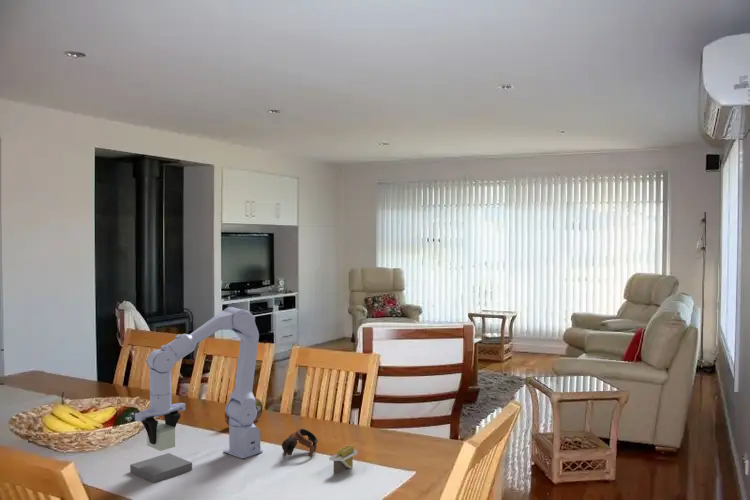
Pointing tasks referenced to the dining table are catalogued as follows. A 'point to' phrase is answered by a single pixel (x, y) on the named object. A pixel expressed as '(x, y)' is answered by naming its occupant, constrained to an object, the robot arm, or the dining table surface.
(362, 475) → the dining table surface
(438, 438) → the dining table surface
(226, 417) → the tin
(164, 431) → the block
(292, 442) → the brown curved band
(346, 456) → the platform
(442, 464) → the dining table surface
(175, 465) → the stand
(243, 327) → the robot arm
